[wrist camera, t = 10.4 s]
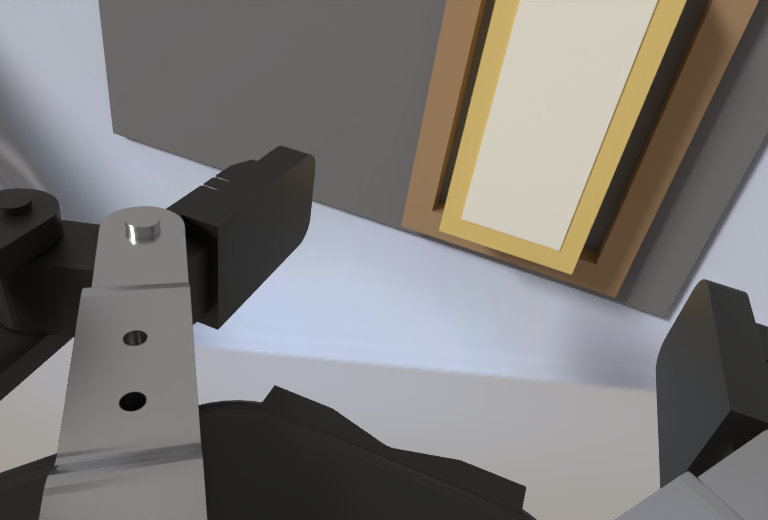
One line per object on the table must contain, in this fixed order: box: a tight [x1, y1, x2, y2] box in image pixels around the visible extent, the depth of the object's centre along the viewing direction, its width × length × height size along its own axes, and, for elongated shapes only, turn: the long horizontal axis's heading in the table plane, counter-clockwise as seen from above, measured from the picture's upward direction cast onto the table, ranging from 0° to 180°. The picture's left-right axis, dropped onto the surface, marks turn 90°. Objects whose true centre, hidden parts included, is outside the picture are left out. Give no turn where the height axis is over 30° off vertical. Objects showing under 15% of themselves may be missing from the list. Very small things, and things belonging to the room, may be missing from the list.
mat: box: [99, 0, 768, 318], centre depth 23 cm, size 28×16×2 cm, turn 81°
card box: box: [439, 0, 687, 275], centre depth 20 cm, size 10×5×4 cm, turn 170°
